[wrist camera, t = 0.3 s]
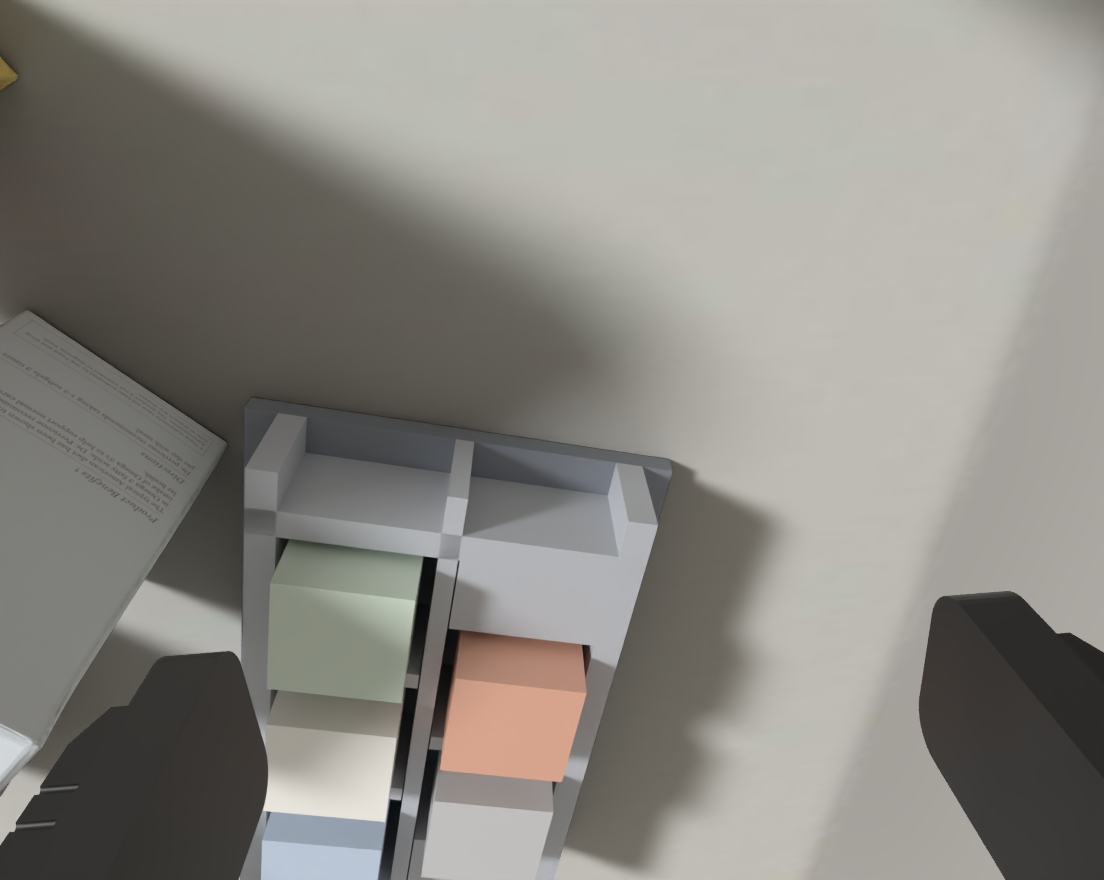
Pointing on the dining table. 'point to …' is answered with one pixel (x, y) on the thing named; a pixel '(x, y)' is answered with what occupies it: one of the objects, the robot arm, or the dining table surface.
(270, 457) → the keypad board
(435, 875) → the key grey
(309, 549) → the key sage
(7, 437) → the supplement box
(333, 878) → the key blue
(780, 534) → the dining table surface
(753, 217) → the dining table surface
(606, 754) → the dining table surface
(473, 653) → the key terracotta
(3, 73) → the candy box
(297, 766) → the key ivory
